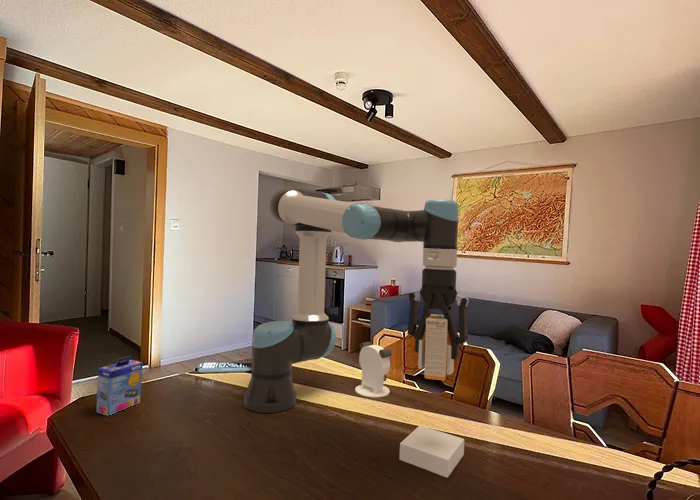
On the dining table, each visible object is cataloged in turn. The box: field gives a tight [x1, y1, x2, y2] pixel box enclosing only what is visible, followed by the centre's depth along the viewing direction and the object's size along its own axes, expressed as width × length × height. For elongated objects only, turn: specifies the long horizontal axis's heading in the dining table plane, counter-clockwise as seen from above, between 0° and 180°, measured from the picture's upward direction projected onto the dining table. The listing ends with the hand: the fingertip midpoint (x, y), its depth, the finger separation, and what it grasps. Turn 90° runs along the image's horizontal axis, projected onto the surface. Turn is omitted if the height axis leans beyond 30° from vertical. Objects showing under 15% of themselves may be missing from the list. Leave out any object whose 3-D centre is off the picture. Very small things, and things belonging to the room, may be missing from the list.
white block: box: [399, 425, 465, 479], centre depth 85 cm, size 11×11×4 cm
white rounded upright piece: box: [354, 341, 393, 399], centre depth 124 cm, size 12×11×15 cm
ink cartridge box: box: [95, 355, 143, 417], centre depth 104 cm, size 10×6×14 cm, turn 158°
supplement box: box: [423, 313, 449, 381], centre depth 85 cm, size 8×5×13 cm, turn 165°
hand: (435, 369), depth 85 cm, fingers closed on supplement box, 6 cm apart
